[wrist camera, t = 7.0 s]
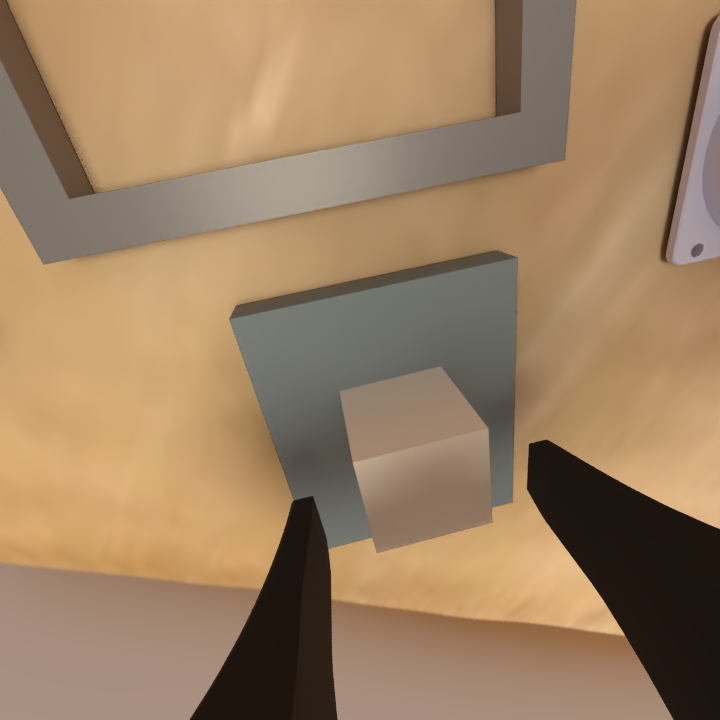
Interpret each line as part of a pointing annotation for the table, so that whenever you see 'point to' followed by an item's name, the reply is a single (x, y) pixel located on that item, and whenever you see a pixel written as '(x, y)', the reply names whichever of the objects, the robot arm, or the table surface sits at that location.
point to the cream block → (418, 458)
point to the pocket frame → (285, 175)
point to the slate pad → (380, 367)
